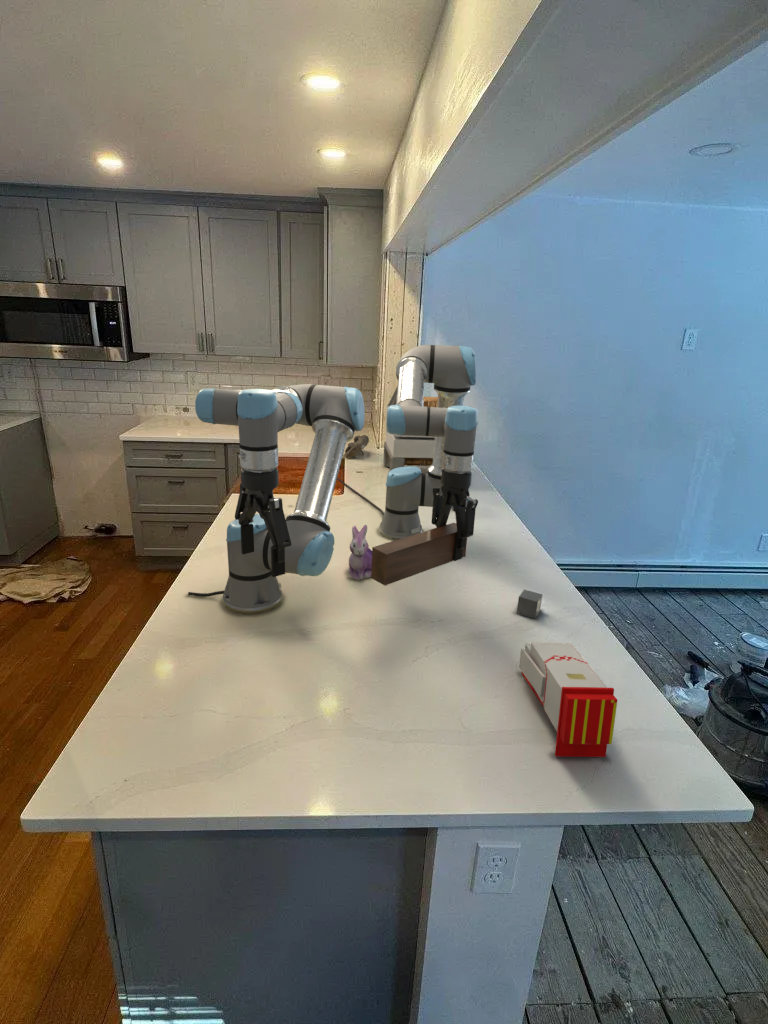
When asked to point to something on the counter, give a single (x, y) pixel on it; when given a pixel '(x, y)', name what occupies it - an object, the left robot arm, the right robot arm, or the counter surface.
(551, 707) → the toy
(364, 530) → the figurine
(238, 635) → the counter surface
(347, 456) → the fossil
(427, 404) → the grey wooden crate
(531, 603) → the slate cube
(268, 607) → the left robot arm
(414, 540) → the walnut bar
